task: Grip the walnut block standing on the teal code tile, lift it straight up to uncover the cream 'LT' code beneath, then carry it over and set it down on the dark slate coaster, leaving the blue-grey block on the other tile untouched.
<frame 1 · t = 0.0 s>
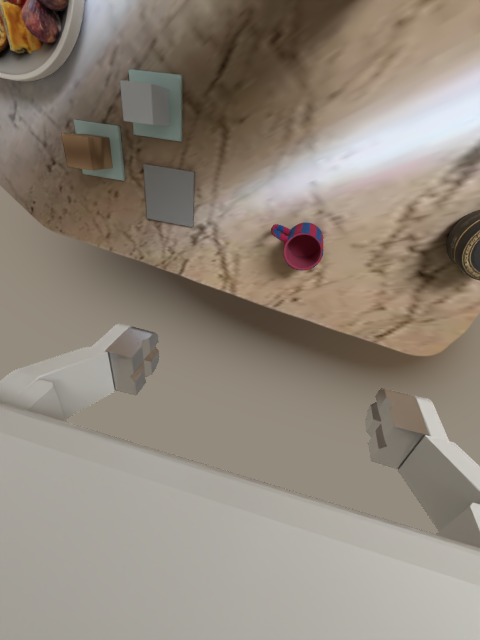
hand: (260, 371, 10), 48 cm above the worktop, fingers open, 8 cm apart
walnut block: (99, 151, 55), point 1 cm above the worktop, touching code tile A
code tile B: (157, 107, 49), on the worktop
mug: (298, 234, 55), on the worktop
blue-grey block: (155, 106, 48), point 1 cm above the worktop, touching code tile B
jar: (476, 236, 48), on the worktop
slate coaster: (170, 196, 56), on the worktop
code tile A: (101, 151, 55), on the worktop
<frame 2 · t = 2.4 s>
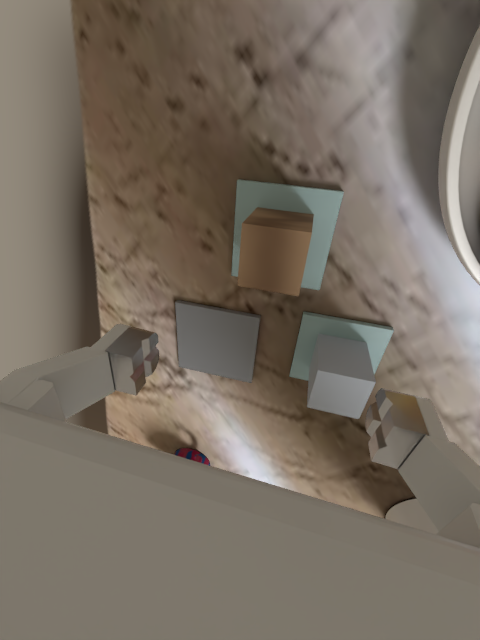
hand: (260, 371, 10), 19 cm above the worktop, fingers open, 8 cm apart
walnut block: (280, 238, 27), point 1 cm above the worktop, touching code tile A
code tile B: (336, 352, 32), on the worktop
mug: (197, 455, 51), on the worktop
blue-grey block: (336, 355, 32), point 1 cm above the worktop, touching code tile B
slate coaster: (216, 342, 36), on the worktop
code tile A: (281, 236, 27), on the worktop
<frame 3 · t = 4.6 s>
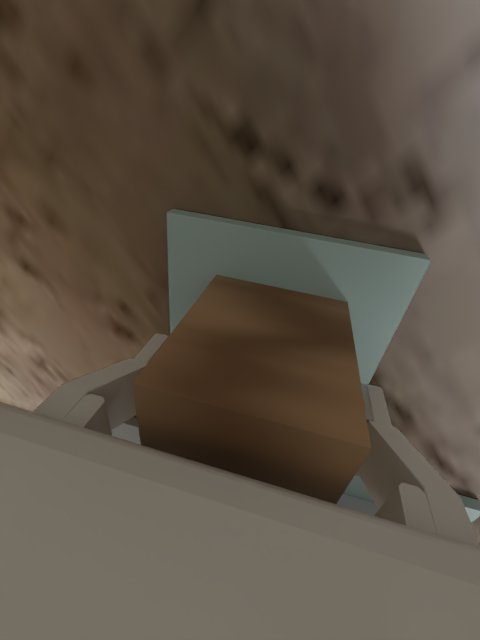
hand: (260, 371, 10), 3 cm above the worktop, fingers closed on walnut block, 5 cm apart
walnut block: (268, 340, 12), point 1 cm above the worktop, touching code tile A, gripper
code tile B: (362, 512, 18), on the worktop
blue-grey block: (363, 523, 18), point 1 cm above the worktop, touching code tile B
slate coaster: (158, 465, 21), on the worktop
code tile A: (270, 332, 13), on the worktop
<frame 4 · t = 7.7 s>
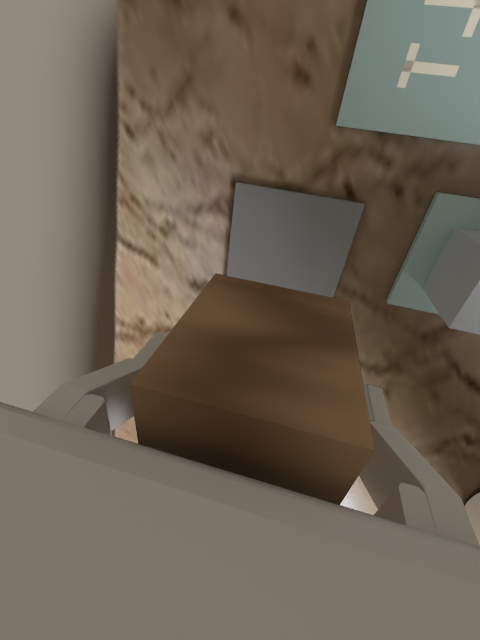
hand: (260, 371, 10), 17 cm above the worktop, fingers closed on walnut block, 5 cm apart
walnut block: (268, 339, 12), point 15 cm above the worktop, touching gripper
code tile B: (468, 263, 22), on the worktop
blue-grey block: (471, 266, 22), point 1 cm above the worktop, touching code tile B
slate coaster: (285, 252, 25), on the worktop
code tile A: (436, 43, 17), on the worktop
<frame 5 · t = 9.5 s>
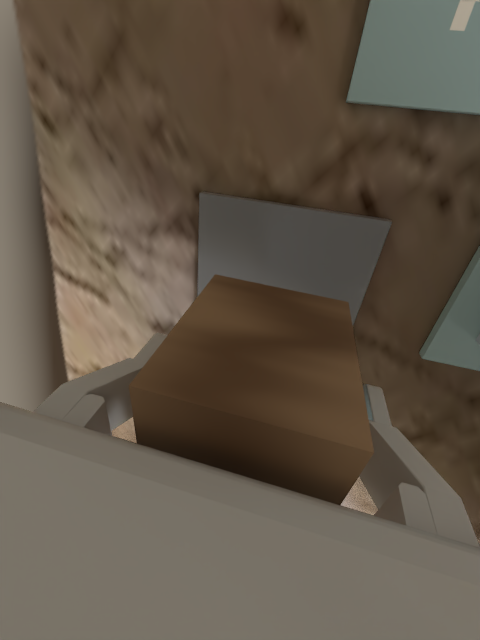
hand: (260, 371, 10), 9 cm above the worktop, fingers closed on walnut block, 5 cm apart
walnut block: (268, 340, 12), point 7 cm above the worktop, touching gripper
slate coaster: (276, 288, 18), on the worktop
when the fingers open (4 cm above the worktop, at t = 10.9 s): walnut block drops 1 cm, resting on slate coaster.
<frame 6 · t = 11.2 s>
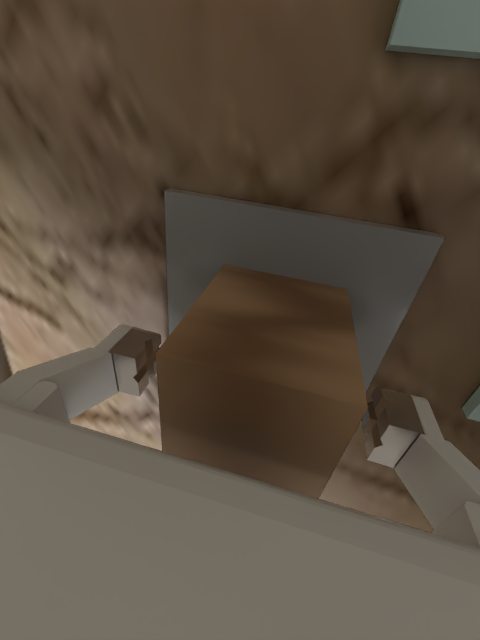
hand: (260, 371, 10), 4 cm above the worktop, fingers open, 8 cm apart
walnut block: (273, 326, 13), point 1 cm above the worktop, touching slate coaster
slate coaster: (273, 320, 13), on the worktop
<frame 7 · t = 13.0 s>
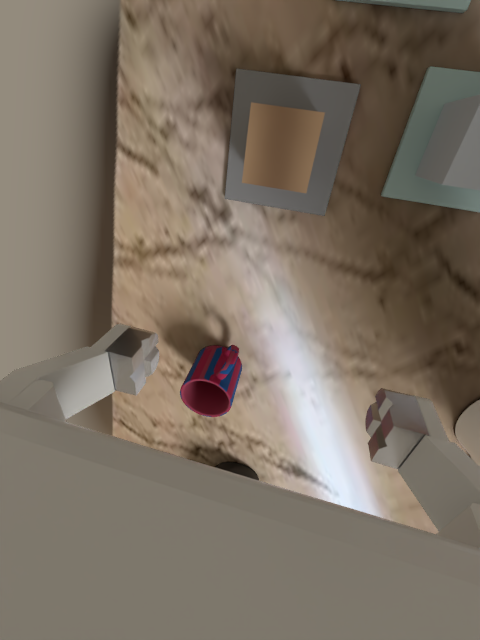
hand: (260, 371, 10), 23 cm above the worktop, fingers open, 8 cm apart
walnut block: (285, 148, 26), point 1 cm above the worktop, touching slate coaster
code tile B: (457, 146, 24), on the worktop
mug: (225, 356, 41), on the worktop
blue-grey block: (461, 146, 23), point 1 cm above the worktop, touching code tile B
jar: (236, 474, 56), on the worktop
slate coaster: (284, 148, 26), on the worktop
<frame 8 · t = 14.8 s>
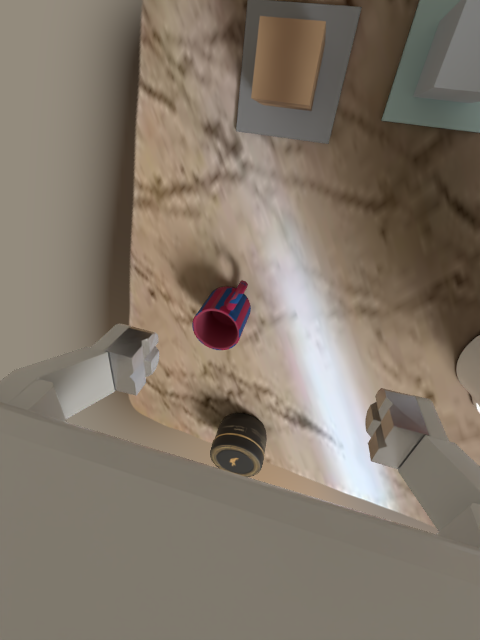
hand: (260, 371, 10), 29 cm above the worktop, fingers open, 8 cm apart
walnut block: (292, 76, 28), point 1 cm above the worktop, touching slate coaster
code tile B: (453, 65, 25), on the worktop
mug: (235, 298, 43), on the worktop
blue-grey block: (455, 64, 25), point 1 cm above the worktop, touching code tile B
jar: (244, 426, 59), on the worktop
slate coaster: (291, 77, 28), on the worktop
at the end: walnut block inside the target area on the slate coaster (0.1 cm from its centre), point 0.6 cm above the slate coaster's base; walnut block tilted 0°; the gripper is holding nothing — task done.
